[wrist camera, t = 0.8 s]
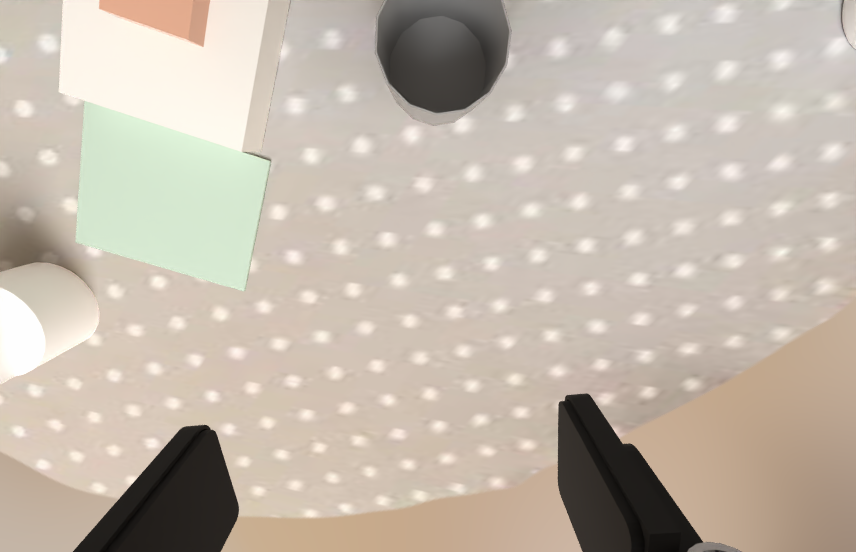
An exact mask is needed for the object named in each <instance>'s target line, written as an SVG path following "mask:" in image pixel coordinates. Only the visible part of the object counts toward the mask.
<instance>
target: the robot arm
mask: <svg viewBox="0 0 856 552" xmlns="http://www.w3.org/2000/svg"><path fill="white" fill-rule="evenodd" d="M558 486H559V491H560V495H561V498H562V500H563V502H564V505H565V508H566V510H567V513H568V515H569V518H570V521H571V523H572V526H573V528H574V531H575V533H576V536H577V539H578V541H579V544H580V546H581V549H582V551H583V552H741V551H739V550H738V549H736V548H733V547H730V546H727V545H724V544H721V543H713V542H705V543H703V541H702V540H701V538H700V537H699V536H698V534H697V533H696V532H695V530H694V529H693V527H692V526H691V524H690V523H689V521H688V520H687V519H686V517H685V516H684V514H683V513H682V512H681V510H680V509H679V507H678V506H677V505H676V503H675V502H674V500H673V499H672V497H671V496H670V495H669V493H668V492H667V490H666V489H665V487H664V486H663V485H662V483H661V482H660V481H659V479H658V478H657V476H656V475H655V473H654V472H653V471H652V469H651V468H650V466H649V465H648V463H647V462H646V461H645V459H644V458H643V456H642V455H641V454H640V452H639V451H638V450H637V448H636V447H635V446H634V445H632V444H622V442H621V441H620V439H619V438H618V436H617V435H616V433H615V432H614V430H613V429H612V427H611V426H610V424H609V423H608V421H607V420H606V418H605V417H604V415H603V414H602V412H601V411H600V409H599V408H598V406H597V405H596V403H595V402H594V400H593V399H592V397H591V396H590V395H589V394H576V395H567V396H566V397H565V401H560V402H559V412H558ZM238 513H239V506H238V502H237V499H236V495H235V492H234V489H233V486H232V482H231V479H230V476H229V473H228V469H227V466H226V463H225V460H224V457H223V453H222V450H221V447H220V444H219V440H218V437H217V434H216V432H215V431H214V430H211V429H210V427H209V426H207V425H198V426H186V427H183V428H182V429H180V430H179V431H178V433H177V434H176V435H175V436H174V437H173V438H172V439H171V440H170V442H169V443H168V444H167V445H166V446H165V447H164V448H163V450H162V451H161V452H160V453H159V454H158V455H157V456H156V458H155V459H154V460H153V461H152V462H151V463H150V464H149V466H148V467H147V468H146V469H145V470H144V471H143V472H142V474H141V475H140V476H139V477H138V478H137V479H136V480H135V482H134V483H133V484H132V485H131V486H130V487H129V488H128V489H127V491H126V492H125V493H124V494H123V495H122V496H121V497H120V499H119V500H118V501H117V502H116V503H115V504H114V506H113V507H112V508H111V509H110V510H109V511H108V512H107V513H106V515H105V516H104V517H103V518H102V519H101V520H100V521H99V523H98V524H97V525H96V526H95V527H94V528H93V529H92V531H91V532H90V533H89V534H88V535H87V536H86V537H85V539H84V540H83V541H82V542H81V543H80V544H79V545H78V547H77V548H76V549H75V550H74V551H73V552H221V550H222V548H223V546H224V544H225V542H226V540H227V538H228V536H229V534H230V532H231V530H232V528H233V526H234V524H235V522H236V520H237V517H238Z"/></svg>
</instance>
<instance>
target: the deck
mask: <svg viewBox="0 0 856 552" xmlns="http://www.w3.org/2000/svg"><path fill="white" fill-rule="evenodd" d="M289 5H290V0H210V5H209V12H208V19H207V26H206V33H205V40H204V47H201V46H198V45H195V44H192V43H190V42H187V41H184V40H181V39H178V38H175V37H172V36H170V35H167V34H164V33H161V32H158V31H155V30H152V29H149V28H147V27H144V26H141V25H138V24H135V23H132V22H129V21H127V20H124V19H121V18H119V17H116V16H114V15H112V14H109V13H107V12H105V11H103V10H100V9H99V0H63V12H62V33H61V55H60V77H59V93H62V94H65V95H69V96H72V97H75V98H78V99H81V100H84V101H87V102H90V103H93V104H96V105H99V106H102V107H105V108H108V109H111V110H115V111H118V112H121V113H124V114H127V115H130V116H133V117H136V118H139V119H142V120H145V121H148V122H151V123H154V124H158V125H161V126H164V127H167V128H170V129H173V130H176V131H179V132H182V133H185V134H188V135H191V136H194V137H197V138H201V139H204V140H207V141H210V142H213V143H216V144H219V145H222V146H225V147H228V148H231V149H234V150H237V151H240V152H261V151H262V146H263V140H264V135H265V130H266V125H267V120H268V115H269V109H270V104H271V99H272V94H273V89H274V83H275V78H276V73H277V68H278V63H279V57H280V52H281V47H282V42H283V37H284V31H285V26H286V21H287V16H288V11H289Z"/></svg>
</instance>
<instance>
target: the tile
mask: <svg viewBox="0 0 856 552" xmlns="http://www.w3.org/2000/svg"><path fill="white" fill-rule="evenodd" d="M209 5H210V0H99V9H100V10H103V11H105V12H107V13H109V14H112V15H114V16H116V17H119V18H121V19H124V20H127V21H129V22H132V23H135V24H138V25H141V26H144V27H147V28H149V29H152V30H155V31H158V32H161V33H164V34H167V35H170V36H172V37H175V38H178V39H181V40H184V41H187V42H190V43H192V44H195V45H198V46H201V47H204V40H205V33H206V26H207V19H208V12H209Z"/></svg>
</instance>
